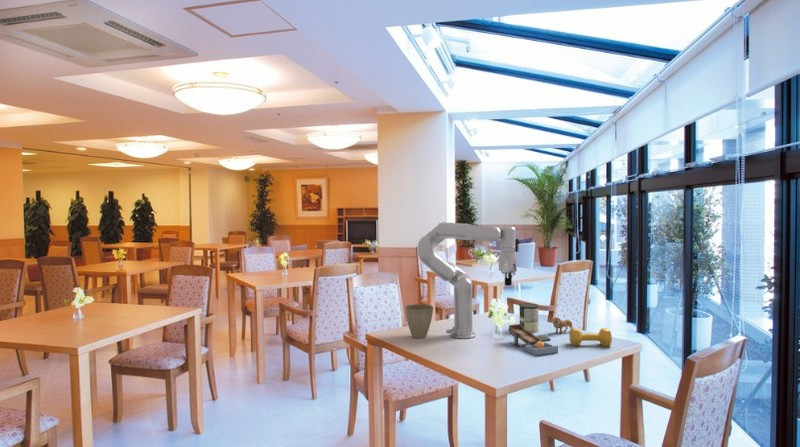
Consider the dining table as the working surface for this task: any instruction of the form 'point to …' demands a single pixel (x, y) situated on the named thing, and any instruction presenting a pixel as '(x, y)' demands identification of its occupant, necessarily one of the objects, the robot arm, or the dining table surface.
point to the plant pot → (419, 319)
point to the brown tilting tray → (526, 334)
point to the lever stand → (517, 341)
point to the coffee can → (529, 317)
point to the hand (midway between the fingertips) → (508, 285)
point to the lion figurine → (561, 324)
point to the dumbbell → (590, 337)
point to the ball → (539, 345)
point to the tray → (541, 349)
